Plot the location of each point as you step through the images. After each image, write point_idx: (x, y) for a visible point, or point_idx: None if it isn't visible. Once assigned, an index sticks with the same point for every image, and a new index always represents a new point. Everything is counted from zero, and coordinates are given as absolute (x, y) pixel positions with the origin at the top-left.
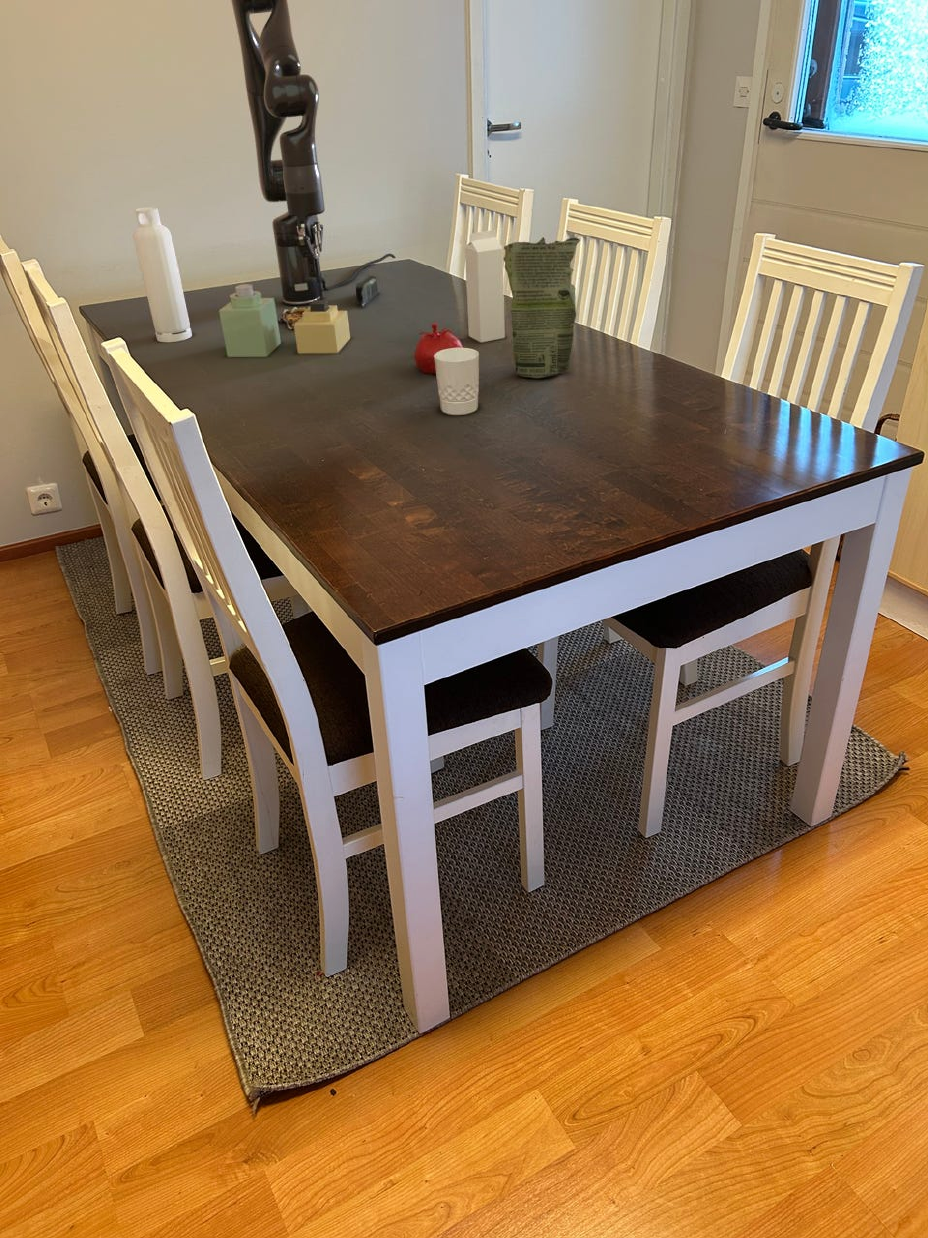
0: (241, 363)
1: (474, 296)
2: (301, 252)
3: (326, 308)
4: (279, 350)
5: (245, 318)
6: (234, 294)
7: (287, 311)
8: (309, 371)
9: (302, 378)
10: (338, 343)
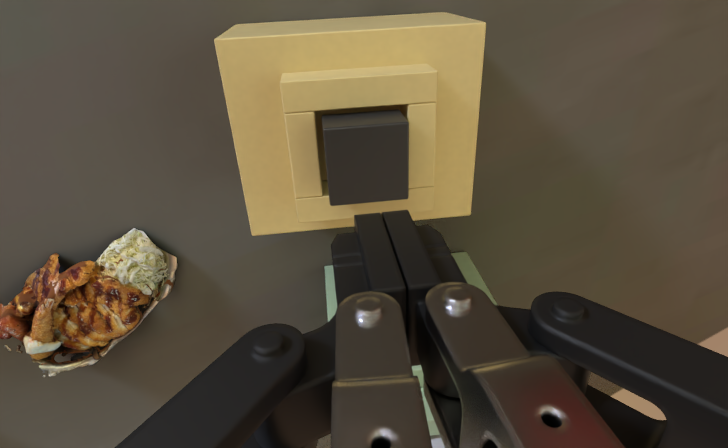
0: (519, 291)
1: None
2: (634, 417)
3: (369, 114)
4: None
5: None
6: None
7: (50, 362)
8: (644, 53)
9: (713, 52)
10: (427, 15)
